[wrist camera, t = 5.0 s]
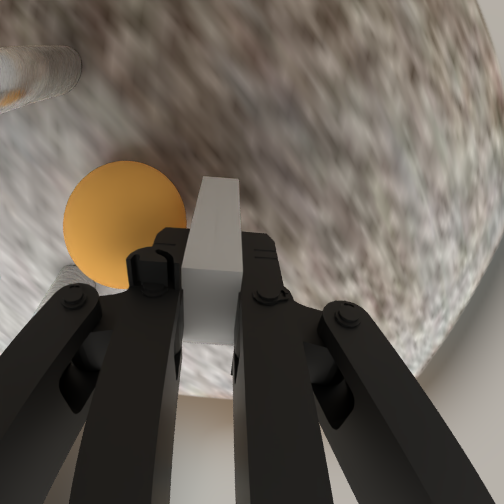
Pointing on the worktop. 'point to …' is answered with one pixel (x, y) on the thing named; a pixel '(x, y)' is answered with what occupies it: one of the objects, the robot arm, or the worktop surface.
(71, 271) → the post
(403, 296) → the worktop surface
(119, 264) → the ball
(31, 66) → the post
